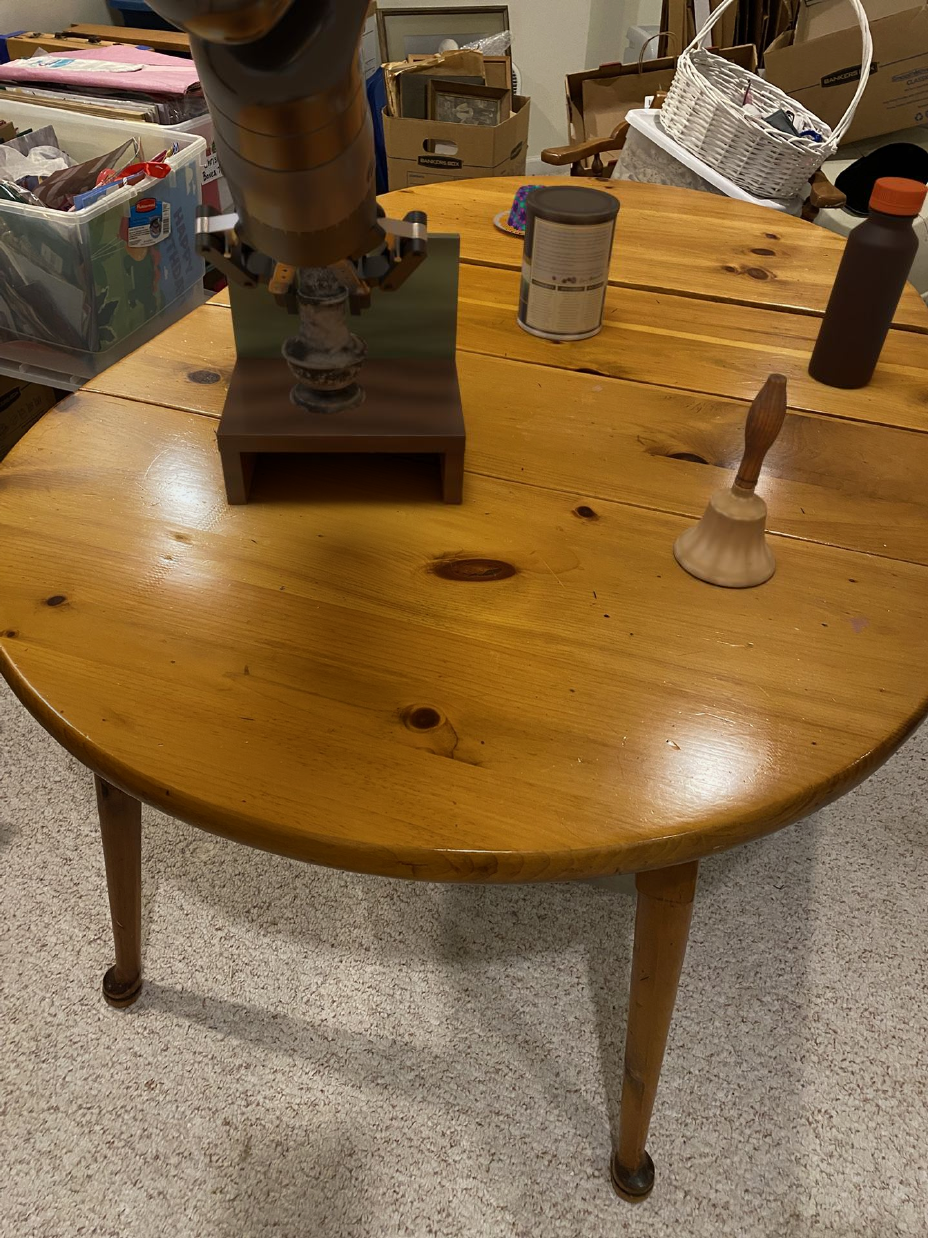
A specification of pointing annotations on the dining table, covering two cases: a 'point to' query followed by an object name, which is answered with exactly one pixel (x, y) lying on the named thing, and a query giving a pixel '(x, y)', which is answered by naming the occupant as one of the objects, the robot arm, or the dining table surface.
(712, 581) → the hand bell
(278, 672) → the dining table surface
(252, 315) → the shelf
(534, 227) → the coffee can
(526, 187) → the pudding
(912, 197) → the bottle
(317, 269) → the grey turned spindle
